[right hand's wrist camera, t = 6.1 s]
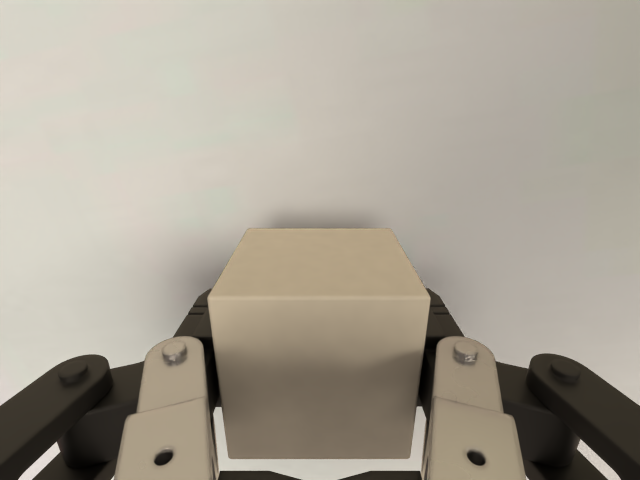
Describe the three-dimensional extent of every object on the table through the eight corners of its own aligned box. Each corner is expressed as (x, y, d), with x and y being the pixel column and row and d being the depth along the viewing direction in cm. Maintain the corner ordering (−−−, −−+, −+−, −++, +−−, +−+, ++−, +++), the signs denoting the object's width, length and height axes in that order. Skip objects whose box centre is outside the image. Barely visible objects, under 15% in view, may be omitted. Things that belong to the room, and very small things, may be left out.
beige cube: (247, 227, 12) (205, 296, 7) (391, 227, 12) (432, 296, 7) (256, 348, 14) (227, 460, 9) (381, 348, 14) (410, 460, 9)
